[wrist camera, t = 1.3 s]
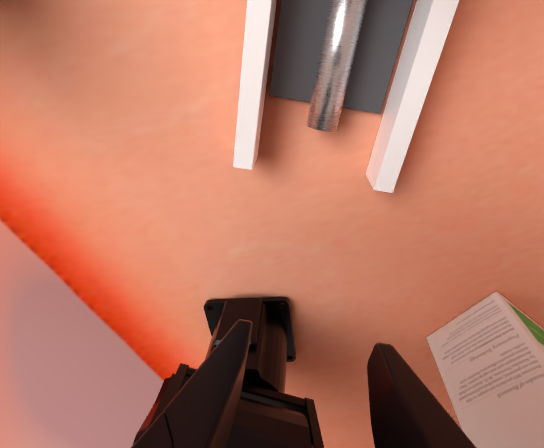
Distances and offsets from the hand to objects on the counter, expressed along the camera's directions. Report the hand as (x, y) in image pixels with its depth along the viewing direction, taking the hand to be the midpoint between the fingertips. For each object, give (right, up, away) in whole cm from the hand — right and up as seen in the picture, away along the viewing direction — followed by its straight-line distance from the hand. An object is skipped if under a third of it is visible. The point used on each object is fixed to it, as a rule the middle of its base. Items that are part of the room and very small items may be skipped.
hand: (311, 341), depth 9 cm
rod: (+2, +13, +7) cm, 14 cm away
